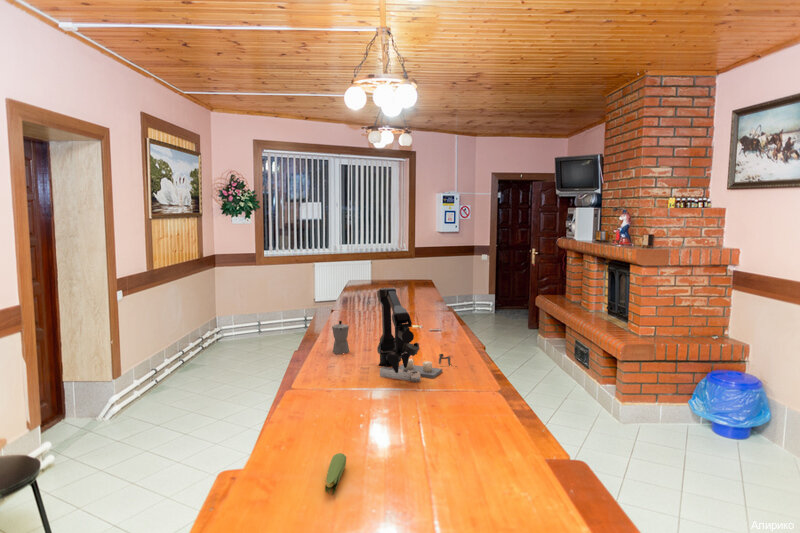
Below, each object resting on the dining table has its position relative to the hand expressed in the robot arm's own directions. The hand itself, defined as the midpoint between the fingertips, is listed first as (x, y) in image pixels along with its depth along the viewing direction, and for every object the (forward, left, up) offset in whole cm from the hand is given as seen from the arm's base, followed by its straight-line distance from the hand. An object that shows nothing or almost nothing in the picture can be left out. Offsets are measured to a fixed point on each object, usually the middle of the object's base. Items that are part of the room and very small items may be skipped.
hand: (401, 370), depth 243 cm
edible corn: (+23, -91, -4) cm, 94 cm away
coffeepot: (-52, +28, -4) cm, 59 cm away
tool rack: (+3, +12, -4) cm, 13 cm away
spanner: (0, 0, -4) cm, 4 cm away
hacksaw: (+10, +35, -5) cm, 37 cm away
